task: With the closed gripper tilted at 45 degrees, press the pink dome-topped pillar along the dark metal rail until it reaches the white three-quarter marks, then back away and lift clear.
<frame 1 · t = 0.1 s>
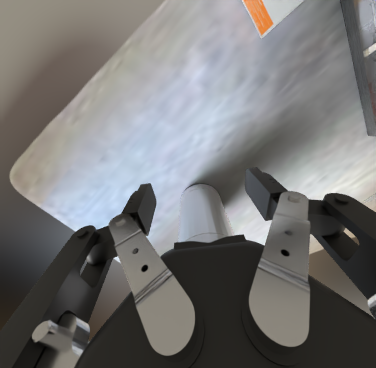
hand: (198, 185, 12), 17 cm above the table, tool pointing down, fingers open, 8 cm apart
skincare box: (262, 6, 19), on the table
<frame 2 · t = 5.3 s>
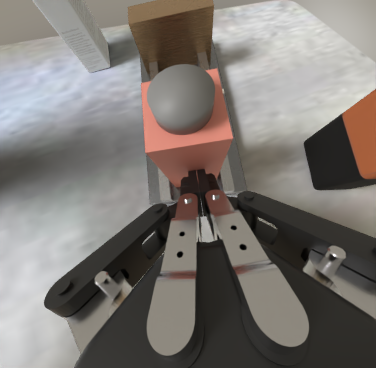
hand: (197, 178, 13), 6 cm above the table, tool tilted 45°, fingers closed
skincare box: (99, 60, 27), on the table
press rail: (185, 115, 22), on the table
pink dome-topped pillar: (189, 144, 13), point 7 cm above the table, slide at 0.1 cm, touching gripper
battery: (323, 164, 19), on the table
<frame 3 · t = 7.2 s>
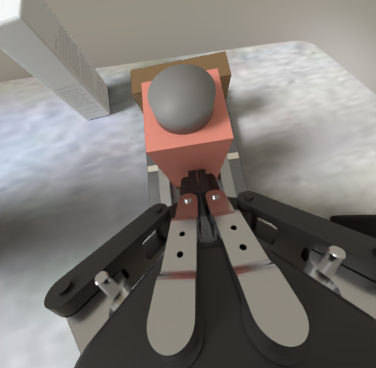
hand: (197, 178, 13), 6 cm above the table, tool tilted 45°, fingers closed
skincare box: (98, 104, 24), on the table
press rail: (194, 176, 20), on the table
pink dome-topped pillar: (189, 144, 13), point 7 cm above the table, slide at 10.1 cm, touching gripper
battery: (353, 245, 16), on the table
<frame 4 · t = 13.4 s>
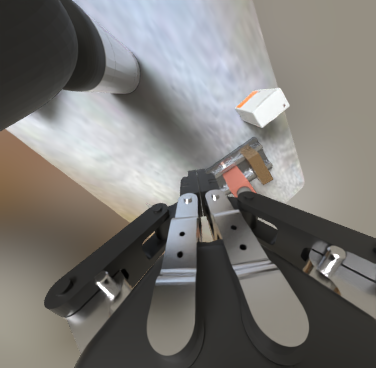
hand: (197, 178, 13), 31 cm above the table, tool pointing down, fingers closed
skincare box: (247, 105, 38), on the table
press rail: (225, 175, 48), on the table
pink dome-topped pillar: (238, 183, 41), point 7 cm above the table, slide at 11.0 cm
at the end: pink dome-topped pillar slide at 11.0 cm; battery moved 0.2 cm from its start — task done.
